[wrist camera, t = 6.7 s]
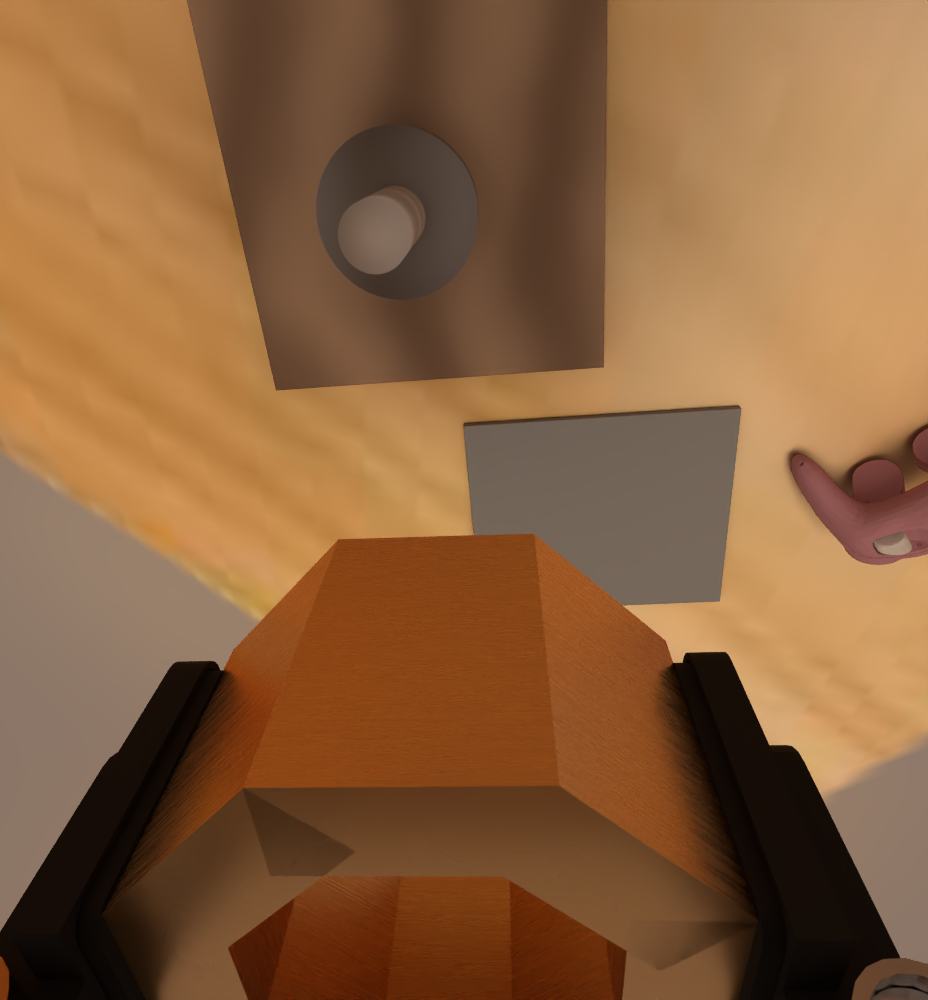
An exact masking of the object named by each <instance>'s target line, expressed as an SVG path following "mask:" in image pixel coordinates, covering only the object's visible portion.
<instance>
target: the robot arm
mask: <svg viewBox="0 0 928 1000" xmlns="http://www.w3.org/2000/svg"><path fill="white" fill-rule="evenodd" d="M672 664H673V667H674V670H675V673H676V676H677V679H678V682H679V685H680V688H681V691H682V694H683V697H684V700H685V703H686V706H687V709H688V712H689V715H690V718H691V721H692V724H693V727H694V730H695V733H696V736H697V739H698V742H699V745H700V748H701V751H702V754H703V757H704V760H705V763H706V766H707V769H708V772H709V775H710V778H711V781H712V784H713V787H714V790H715V793H716V796H717V799H718V802H719V805H720V808H721V811H722V814H723V817H724V820H725V823H726V826H727V829H728V832H729V835H730V838H731V841H732V844H733V847H734V850H735V853H736V856H737V859H738V862H739V865H740V868H741V871H742V874H743V877H744V880H745V883H746V886H747V889H748V892H749V895H750V898H751V901H752V904H753V907H754V910H755V913H756V916H757V919H758V923H757V927H756V931H755V935H754V939H753V943H752V947H751V951H750V955H749V960H748V964H747V968H746V972H745V976H744V980H743V984H742V988H741V992H740V996H739V1000H928V964H926V963H922V962H918V961H914V960H910V959H906V958H900V956H899V954H898V952H897V950H896V948H895V946H894V944H893V942H892V940H891V938H890V936H889V934H888V932H887V930H886V927H885V926H884V924H883V922H882V919H881V917H880V915H879V913H878V911H877V909H876V907H875V905H874V903H873V901H872V899H871V897H870V895H869V893H868V891H867V889H866V887H865V885H864V883H863V881H862V879H861V877H860V874H859V872H858V870H857V868H856V867H855V864H854V862H853V860H852V858H851V856H850V854H849V852H848V850H847V848H846V846H845V844H844V842H843V840H842V838H841V836H840V834H839V832H838V830H837V828H836V826H835V824H834V821H833V819H832V817H831V815H830V813H829V811H828V809H827V807H826V805H825V803H824V801H823V799H822V797H821V795H820V793H819V791H818V789H817V787H816V785H815V783H814V781H813V779H812V777H811V775H810V773H809V771H808V768H807V766H806V764H805V762H804V761H803V759H802V757H801V756H800V754H799V752H798V751H797V750H796V749H795V748H794V747H792V746H788V745H769V744H768V741H767V739H766V737H765V735H764V732H763V730H762V728H761V726H760V723H759V721H758V719H757V717H756V714H755V712H754V710H753V708H752V706H751V703H750V701H749V699H748V697H747V694H746V692H745V690H744V688H743V685H742V683H741V681H740V679H739V676H738V674H737V672H736V670H735V667H734V665H733V663H732V661H731V659H730V657H729V655H728V654H727V653H726V652H699V653H686V654H685V656H684V659H683V663H672ZM223 673H224V671H220V668H219V666H218V664H217V663H216V662H214V661H193V662H192V661H190V662H176V663H174V664H173V665H172V666H171V667H170V669H169V670H168V672H167V673H166V675H165V677H164V678H163V680H162V681H161V683H160V685H159V686H158V688H157V690H156V691H155V693H154V695H153V696H152V698H151V699H150V701H149V703H148V704H147V706H146V708H145V709H144V711H143V713H142V714H141V716H140V717H139V719H138V721H137V722H136V724H135V726H134V727H133V729H132V731H131V732H130V734H129V736H128V737H127V739H126V740H125V742H124V744H123V745H122V747H121V749H120V750H119V752H118V753H116V754H115V755H113V756H112V757H110V758H109V760H108V761H107V762H106V764H105V765H104V766H103V767H102V769H101V770H100V772H99V774H98V775H97V777H96V779H95V780H94V782H93V784H92V785H91V787H90V788H89V790H88V792H87V793H86V795H85V796H84V798H83V799H82V801H81V803H80V805H79V806H78V808H77V809H76V811H75V812H74V814H73V816H72V817H71V819H70V821H69V822H68V824H67V825H66V827H65V828H64V830H63V832H62V833H61V835H60V837H59V838H58V840H57V841H56V843H55V845H54V846H53V848H52V849H51V851H50V853H49V854H48V856H47V857H46V859H45V861H44V862H43V864H42V865H41V867H40V869H39V870H38V872H37V873H36V875H35V877H34V878H33V880H32V882H31V883H30V885H29V886H28V888H27V890H26V891H25V893H24V894H23V896H22V898H21V899H20V901H19V903H18V904H17V906H16V907H15V909H14V911H13V912H12V914H11V915H10V917H9V919H8V920H7V922H6V924H5V925H4V927H3V928H2V930H1V932H0V1000H146V998H145V997H144V995H143V993H142V991H141V989H140V987H139V985H138V983H137V981H136V979H135V977H134V975H133V974H132V972H131V970H130V968H129V966H128V964H127V962H126V960H125V958H124V956H123V954H122V953H121V951H120V949H119V947H118V945H117V943H116V941H115V939H114V937H113V935H112V933H111V931H110V930H109V928H108V926H107V924H106V922H105V920H104V918H103V916H102V914H103V912H104V910H105V908H106V906H107V904H108V902H109V900H110V898H111V896H112V894H113V892H114V890H115V888H116V886H117V884H118V882H119V880H120V878H121V876H122V874H123V872H124V870H125V868H126V866H127V864H128V862H129V860H130V858H131V856H132V854H133V852H134V850H135V848H136V846H137V844H138V842H139V840H140V838H141V836H142V834H143V832H144V830H145V828H146V826H147V824H148V822H149V820H150V818H151V816H152V814H153V812H154V810H155V808H156V806H157V804H158V802H159V800H160V798H161V796H162V794H163V792H164V790H165V788H166V787H167V785H168V783H169V781H170V779H171V777H172V775H173V773H174V771H175V769H176V767H177V765H178V763H179V761H180V759H181V757H182V755H183V753H184V751H185V749H186V747H187V745H188V743H189V741H190V739H191V737H192V735H193V733H194V731H195V729H196V727H197V725H198V723H199V721H200V719H201V717H202V715H203V713H204V711H205V709H206V707H207V705H208V703H209V701H210V699H211V697H212V695H213V693H214V691H215V689H216V687H217V685H218V683H219V681H220V679H221V677H222V675H223Z"/></svg>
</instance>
